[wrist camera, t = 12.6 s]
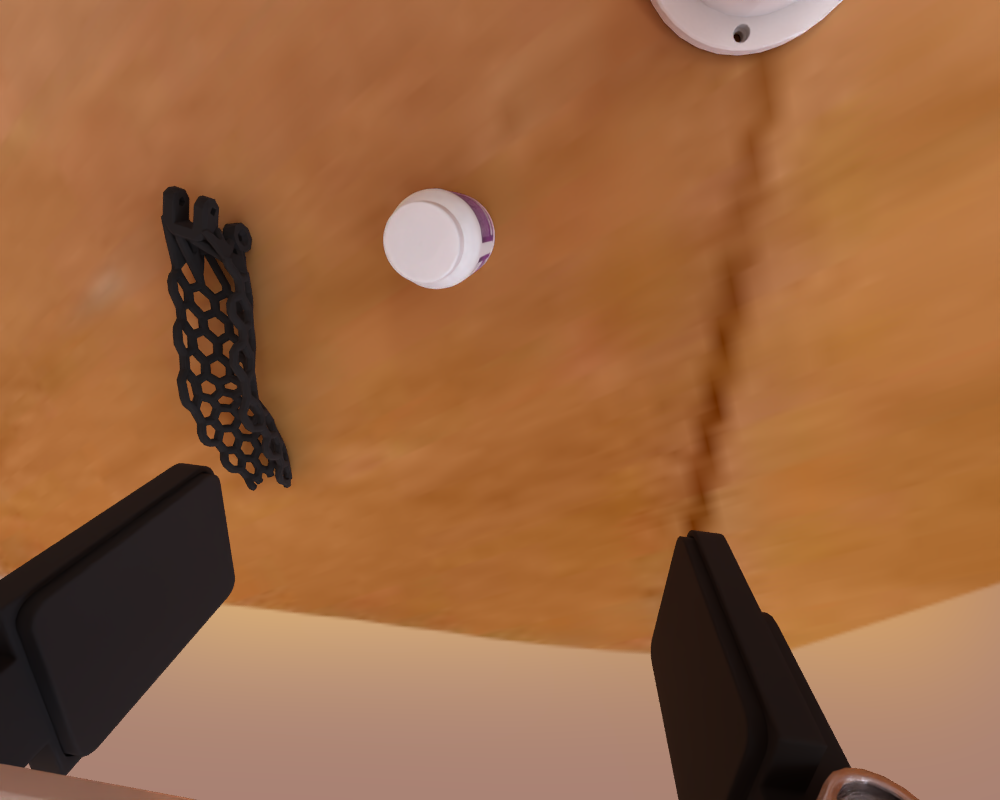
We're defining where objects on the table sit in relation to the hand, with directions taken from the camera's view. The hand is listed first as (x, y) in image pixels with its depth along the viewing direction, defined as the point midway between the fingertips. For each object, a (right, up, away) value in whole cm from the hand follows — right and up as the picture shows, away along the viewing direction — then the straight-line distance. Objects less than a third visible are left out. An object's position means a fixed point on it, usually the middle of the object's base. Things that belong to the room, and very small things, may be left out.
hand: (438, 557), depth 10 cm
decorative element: (-18, +7, +28) cm, 34 cm away
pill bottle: (-2, +14, +24) cm, 28 cm away
